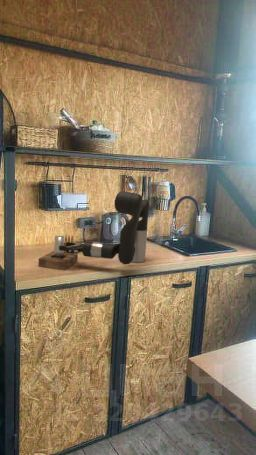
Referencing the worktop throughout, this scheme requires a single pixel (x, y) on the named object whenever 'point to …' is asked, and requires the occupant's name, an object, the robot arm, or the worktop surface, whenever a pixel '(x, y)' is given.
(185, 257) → the worktop surface
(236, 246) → the worktop surface
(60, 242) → the steel pin
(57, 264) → the walnut socket block
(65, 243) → the ammunition clip
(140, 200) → the robot arm
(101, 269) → the worktop surface
